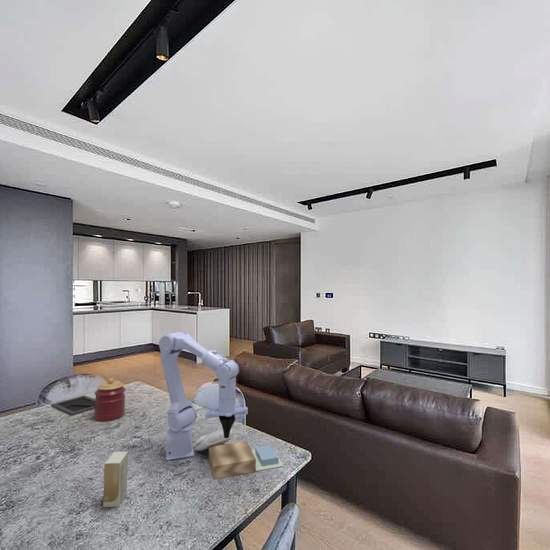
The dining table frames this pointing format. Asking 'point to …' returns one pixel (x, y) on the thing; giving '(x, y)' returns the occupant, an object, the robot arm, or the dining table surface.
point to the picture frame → (75, 405)
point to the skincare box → (115, 479)
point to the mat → (260, 468)
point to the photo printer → (212, 440)
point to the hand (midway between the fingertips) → (226, 437)
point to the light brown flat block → (231, 459)
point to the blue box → (266, 455)
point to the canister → (109, 400)
